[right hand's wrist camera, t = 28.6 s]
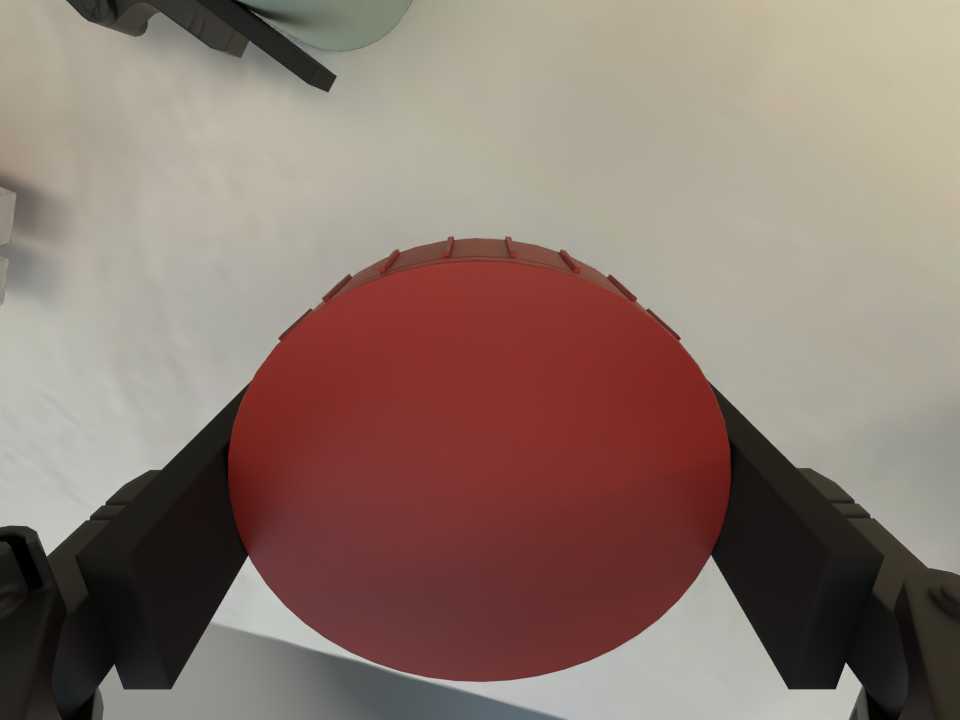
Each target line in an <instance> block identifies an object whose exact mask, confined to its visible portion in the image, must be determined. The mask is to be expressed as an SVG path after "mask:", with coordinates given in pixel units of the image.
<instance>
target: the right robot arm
mask: <svg viewBox="0 0 960 720" xmlns="http://www.w3.org/2000/svg"><path fill="white" fill-rule="evenodd" d="M706 380H707V379H706ZM707 381H708V380H707ZM708 382H709V381H708ZM250 383H251V382H250ZM250 383H249V384H248V385H247V386H246V387H245V388H244V389H243V390H242V391H241V392H240V393H239V394H238V395H237V396H236V397H235V398H234V399H233V400H232V401H231V402H230V403H229V404H228V405H227V406H226V407H225V408H224V409H223V410H222V411H221V412H220V413H219V414H218V415H217V416H216V417H215V418H214V419H213V420H212V421H211V422H210V423H209V424H208V425H206V426H205V427H204V428H203V429H202V430H201V431H200V432H199V433H198V434H197V435H196V436H195V437H194V438H193V439H192V440H191V441H190V442H189V443H188V444H187V445H186V446H185V447H184V448H183V449H182V450H181V451H180V452H179V453H178V454H177V455H176V456H175V457H174V458H173V459H172V460H171V461H170V462H169V463H168V464H167V465H166V466H165V467H164V468H163V469H162V470H149V471H148V472H146V473H144V474H142V475H141V476H139V477H137V478H135V479H134V480H132V481H130V482H128V483H127V484H125V485H124V486H123V487H121V488H120V489H119V490H118V491H117V492H116V493H115V494H114V495H113V496H112V497H111V498H110V499H109V500H107V501H106V505H105V506H101V507H100V508H99V509H98V510H97V511H96V512H95V513H93V514H92V515H91V516H90V520H86V521H85V522H84V523H83V524H82V525H81V526H80V527H78V528H77V529H76V530H75V531H74V532H73V533H72V534H71V535H70V536H69V537H68V538H67V539H66V540H64V541H63V542H62V543H61V544H60V545H59V546H58V547H57V548H56V549H55V550H54V551H53V552H52V553H50V554H49V555H48V556H47V557H46V554H45V552H44V549H43V547H42V544H41V541H40V539H39V536H38V534H37V532H36V531H34V530H33V529H31V528H29V527H27V526H6V527H0V720H102V717H103V708H104V706H103V701H102V696H101V693H100V690H99V688H98V686H99V685H100V683H101V682H102V681H103V679H104V678H105V676H106V675H107V674H108V672H109V671H110V669H111V668H112V667H113V665H114V664H115V667H116V669H117V672H118V674H119V677H120V680H121V683H122V685H123V688H124V689H171V688H172V687H173V685H174V683H175V681H176V680H177V678H178V676H179V674H180V673H181V671H182V669H183V668H184V666H185V664H186V662H187V661H188V659H189V657H190V655H191V654H192V652H193V650H194V649H195V647H196V645H197V643H198V642H199V640H200V638H201V636H202V635H203V633H204V631H205V629H206V628H207V626H208V624H209V623H210V621H211V619H212V617H213V616H214V614H215V612H216V610H217V609H218V607H219V605H220V604H221V602H222V600H223V598H224V597H225V595H226V593H227V591H228V590H229V588H230V586H231V584H232V583H233V581H234V579H235V578H236V576H237V574H238V572H239V571H240V569H241V567H242V565H243V564H244V562H245V560H246V558H247V557H248V553H247V551H246V549H245V547H244V545H243V543H242V541H241V539H240V536H239V533H238V529H237V526H236V522H235V518H234V514H233V510H232V505H231V500H230V495H229V489H228V452H229V446H230V440H231V434H232V428H233V425H234V422H235V419H236V416H237V413H238V410H239V407H240V404H241V401H242V399H243V397H244V395H245V393H246V391H247V389H248V387H249V385H250ZM709 385H710V387H711V388H712V390H713V392H714V394H715V397H716V399H717V402H718V405H719V407H720V410H721V413H722V415H723V418H724V421H725V425H726V430H727V435H728V440H729V445H730V453H731V487H730V495H729V500H728V505H727V510H726V514H725V519H724V523H723V526H722V530H721V533H720V535H719V537H718V540H717V542H716V544H715V546H714V549H713V551H712V553H711V556H712V557H713V559H714V561H715V563H716V564H717V566H718V568H719V569H720V571H721V573H722V575H723V576H724V578H725V580H726V582H727V583H728V585H729V587H730V588H731V590H732V592H733V594H734V595H735V597H736V599H737V601H738V602H739V604H740V606H741V608H742V609H743V611H744V613H745V614H746V616H747V618H748V620H749V621H750V623H751V625H752V627H753V628H754V630H755V632H756V634H757V635H758V637H759V639H760V640H761V642H762V644H763V646H764V647H765V649H766V651H767V653H768V654H769V656H770V658H771V660H772V661H773V663H774V665H775V666H776V668H777V670H778V672H779V673H780V675H781V677H782V679H783V680H784V682H785V684H786V686H787V687H788V689H836V687H837V684H838V682H839V679H840V676H841V673H842V671H843V668H844V665H845V663H847V664H848V666H849V667H850V668H851V670H852V671H853V673H854V674H855V675H856V677H857V678H858V680H859V681H860V682H861V684H862V688H861V690H860V693H859V695H858V698H857V700H856V703H855V705H854V708H853V711H852V713H851V716H850V718H849V720H960V575H957V574H954V573H952V572H947V571H942V570H937V569H932V568H930V569H928V568H927V567H926V566H925V565H924V564H923V563H922V562H921V561H920V560H919V559H918V558H916V557H915V556H914V555H913V554H912V553H911V552H910V551H909V550H908V549H907V548H906V547H905V546H903V545H902V544H901V543H900V542H899V541H898V540H897V539H896V538H895V537H894V536H893V535H892V534H890V533H889V532H888V531H887V530H886V529H885V528H884V527H883V526H882V525H881V524H880V523H879V522H877V521H876V520H875V519H874V518H870V514H869V513H868V512H867V511H866V510H864V509H863V508H862V507H861V506H860V505H859V504H855V502H854V499H853V498H851V497H850V496H849V495H848V494H847V493H846V492H845V491H844V490H843V489H842V488H841V487H840V486H838V485H837V484H836V483H835V482H833V481H831V480H830V479H828V478H826V477H824V476H823V475H821V474H819V473H817V472H816V471H814V470H812V469H810V468H796V467H794V466H793V465H792V464H791V463H790V462H789V461H788V460H787V459H786V458H785V457H784V456H783V455H782V454H781V453H780V452H779V451H778V450H777V449H776V448H775V447H774V446H773V445H772V444H771V443H770V442H769V441H768V440H767V439H766V438H765V437H764V436H763V435H762V434H761V433H760V432H759V431H758V430H757V429H756V428H755V427H754V426H753V425H752V424H751V423H750V422H749V421H748V420H747V419H746V418H745V417H744V416H743V415H742V414H741V413H740V412H739V411H738V410H737V409H736V408H735V407H734V406H733V405H732V404H731V403H730V402H729V401H728V400H727V399H726V398H725V397H724V396H723V395H722V394H721V393H720V392H719V391H718V390H717V389H716V388H715V387H714V386H713V385H712V384H711V383H710V382H709Z"/></svg>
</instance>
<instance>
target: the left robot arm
mask: <svg viewBox="0 0 960 720" xmlns="http://www.w3.org/2000/svg"><path fill="white" fill-rule="evenodd" d="M67 1H68V2H69V3H70V4H71V5H72V6H73V7H74V8H75V9H76V10H77V11H78V12H79V13H80V14H81V16H83V17H84V18H85V19H87V20H88V21H90V22H93V23H96V24H99V25H101V26H104V27H107V28H110V29H113V30H116V31H119V32H122V33H125V34H128V35H131V36H135V37H137V36H141V35H143V34H144V33H145V31H146V29H147V20H148V19H149V18H150V17H151V16H153V15H154V14H155V13H158V12H162V13H163V14H165V15H166V16H167V17H169V18H170V19H172V20H173V21H174V22H176V23H177V24H178V25H180V26H181V27H183V28H184V29H185V30H187V31H188V32H189V33H191V34H192V35H194V36H195V37H197V38H198V39H199V40H200V41H202V42H203V43H205V44H206V45H207V46H209V47H210V48H212V49H215V50H217V51H220V52H222V53H225V54H227V55H231V56H234V57H238V58H241V56H242V54H243V52H244V50H245V48H246V46H247V44H248V42H249V40H250V41H251V42H252V43H254V44H255V45H256V46H258V47H259V48H261V49H262V50H263V51H265V52H266V53H267V54H269V55H270V56H271V57H273V58H274V59H275V60H277V61H278V62H279V63H281V64H282V65H283V66H285V67H286V68H287V69H289V70H290V71H291V72H293V73H294V74H296V75H297V76H298V77H300V78H301V79H302V80H304V81H305V82H306V83H308V84H309V85H312V86H314V87H317V88H319V89H322V90H324V91H326V92H329V90H330V88H331V86H332V84H333V82H334V81H335V79H336V77H337V76H336V75H334V74H333V73H332V72H330V71H329V70H328V69H326V68H325V67H324V66H323V65H321V64H320V63H319V62H317V61H316V60H315V59H313V58H312V57H311V56H309V55H308V54H307V53H305V52H304V51H303V50H301V49H300V48H299V47H297V46H296V45H295V44H293V43H292V42H291V41H289V40H288V39H287V38H286V37H284V36H283V35H282V34H280V33H279V32H278V31H276V30H275V29H274V28H272V27H271V26H270V25H268V24H267V23H266V22H264V21H263V20H262V19H260V18H259V17H258V16H256V15H255V14H254V13H252V12H251V11H250V10H248V9H247V8H246V7H244V6H243V5H241V4H239V3H238V2H236V1H235V0H67Z"/></svg>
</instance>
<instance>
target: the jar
mask: <svg viewBox="0 0 960 720" xmlns="http://www.w3.org/2000/svg"><path fill="white" fill-rule="evenodd" d="M235 1H236V2H238V3H239V4H241V5H243V6H244V7H246V8H247V9H249V10H251V11H252V12H254V13H255V14H257V15H259V16H260V17H262V18H263V19H265V20H267V21H268V22H270V23H271V24H273V25H275V26H276V27H278V28H279V29H281V30H283V31H284V32H286V33H287V34H289V35H290V36H292V37H294V38H296V39H297V40H299V41H301V42H303V43H305V44H308V45H310V46H313V47H315V48H320V49H324V50H331V51H347V50H354V49H358V48H362V47H364V46H367V45H369V44H372V43H373V42H375V41H377V40H378V39H380V38H382V37H383V36H384V35H386V34H387V33H388V32H389V31H390V30H391V29H392V28H393V27H394V26H395V25H396V24H397V23H398V22H399V21H400V19H401V18H402V16H403V15H404V14H405V12H406V11H407V9H408V7H409V5H410V3H411V1H412V0H235Z"/></svg>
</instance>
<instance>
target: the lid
mask: <svg viewBox="0 0 960 720" xmlns="http://www.w3.org/2000/svg"><path fill="white" fill-rule="evenodd" d="M322 299H323V301H322V302H321V303H320V304H319V305H318V306H317V307H316V308H315V309H314V310H312V309H311V308H310V309H309V310H308V311H307V312H306V313H305V314H304V315H303V316H301V317H300V318H299V319H298V320H297V321H296V322H295V323H294V324H293V325H292V326H290V327H289V328H288V329H287V330H286V331H285V332H284V333H283V334H282V335H281V336H280V337H279V338H278V339H279V340H281V342H279V343H278V344H277V345H276V347H275V348H274V349H273V351H272V352H271V353H270V355H269V356H268V357H267V359H266V360H265V361H264V363H263V364H262V365H261V367H260V368H259V369H258V371H257V372H256V374H255V376H254V378H253V380H252V381H251V383H250V385H249V387H248V389H247V391H246V393H245V395H244V397H243V399H242V401H241V404H240V407H239V410H238V413H237V416H236V419H235V422H234V425H233V428H232V434H231V440H230V446H229V452H228V489H229V495H230V500H231V505H232V510H233V514H234V518H235V522H236V526H237V529H238V533H239V536H240V539H241V541H242V543H243V545H244V547H245V549H246V551H247V553H248V555H249V557H250V559H251V561H252V563H253V565H254V566H255V568H256V569H257V571H258V572H259V574H260V575H261V577H262V578H263V580H264V581H265V583H266V584H267V585H268V587H269V588H270V589H271V590H272V591H273V592H274V593H275V595H276V596H277V597H278V598H279V599H280V600H281V602H282V603H283V604H284V605H285V606H286V607H287V608H288V609H290V610H291V611H292V612H293V613H294V614H295V615H296V616H297V617H298V618H299V619H301V620H302V621H303V622H304V623H305V624H307V625H308V626H309V627H311V628H312V629H314V630H315V631H316V632H318V633H319V634H321V635H322V636H323V637H325V638H326V639H328V640H330V641H331V642H333V643H335V644H337V645H338V646H340V647H342V648H344V649H345V650H347V651H349V652H351V653H353V654H356V655H358V656H360V657H362V658H365V659H367V660H369V661H372V662H374V663H377V664H380V665H383V666H386V667H389V668H392V669H395V670H398V671H401V672H406V673H410V674H415V675H419V676H424V677H429V678H437V679H444V680H452V681H474V682H488V681H506V680H515V679H522V678H528V677H535V676H540V675H544V674H548V673H552V672H556V671H560V670H564V669H567V668H570V667H573V666H576V665H578V664H581V663H584V662H587V661H590V660H592V659H594V658H596V657H598V656H601V655H603V654H605V653H607V652H609V651H611V650H613V649H615V648H617V647H619V646H620V645H622V644H624V643H625V642H627V641H629V640H630V639H632V638H634V637H635V636H637V635H638V634H640V633H641V632H642V631H644V630H645V629H646V628H648V627H649V626H650V625H652V624H653V623H654V622H656V621H657V620H658V619H660V618H661V617H662V616H663V615H664V614H665V613H666V612H667V611H668V610H669V609H670V608H671V607H672V606H673V605H674V604H675V603H676V602H677V601H678V600H679V599H680V598H681V597H682V596H683V594H684V593H685V592H686V591H687V589H688V588H689V587H690V586H691V585H692V583H693V582H694V581H695V580H696V578H697V577H698V575H699V573H700V572H701V570H702V569H703V567H704V565H705V564H706V562H707V560H708V559H709V557H710V555H711V553H712V551H713V549H714V546H715V544H716V542H717V540H718V537H719V535H720V533H721V530H722V526H723V523H724V519H725V514H726V510H727V505H728V500H729V495H730V487H731V453H730V445H729V440H728V435H727V430H726V425H725V421H724V418H723V415H722V413H721V410H720V407H719V405H718V402H717V399H716V397H715V394H714V392H713V390H712V388H711V387H710V385H709V382H708V381H707V380H706V378H705V376H704V374H703V373H702V371H701V369H700V368H699V366H698V364H697V363H696V362H695V361H694V360H693V358H692V357H691V356H690V355H689V353H688V352H687V351H686V350H685V348H684V347H683V346H682V345H681V343H680V342H679V340H680V339H681V338H680V337H679V336H678V335H677V334H676V333H675V332H674V331H673V330H672V329H671V328H670V327H669V326H667V325H666V324H665V323H664V322H663V321H662V320H661V319H660V318H659V317H658V316H656V315H655V314H654V313H653V312H652V311H651V310H650V309H649V308H648V309H647V310H645V309H644V308H643V307H642V306H641V305H640V304H639V303H638V302H636V300H637V298H636V297H635V296H634V295H633V294H632V293H631V292H630V291H629V290H628V289H627V288H625V287H624V286H623V285H622V284H621V283H620V282H619V281H618V280H617V279H615V278H614V277H613V276H612V275H610V274H609V276H608V277H606V276H604V275H603V274H601V273H600V272H599V271H597V270H596V269H594V268H592V267H590V266H588V265H586V264H584V263H582V262H580V261H578V260H576V259H574V258H572V257H570V255H569V254H568V253H567V252H566V251H564V250H562V249H561V250H560V253H559V252H556V251H553V250H550V249H547V248H544V247H541V246H537V245H532V244H526V243H521V242H516V241H512V239H511V237H506V239H505V240H499V239H480V238H474V239H462V240H454V237H448V240H447V241H442V242H437V243H433V244H428V245H424V246H419V247H414V248H412V249H409V250H406V251H403V252H401V253H400V252H399V250H398V249H397V250H395V251H393V252H392V254H391V255H390V256H389V257H387V258H385V259H383V260H381V261H379V262H377V263H375V264H373V265H371V266H370V267H368V268H366V269H364V270H362V271H360V272H358V273H357V274H356V275H354V276H353V277H351V275H350V274H349V275H347V276H346V277H345V278H344V279H342V280H341V281H340V282H339V283H338V284H337V285H336V286H335V287H334V288H333V289H332V290H330V291H329V292H328V293H327V294H326V295H325V296H324V297H323V298H322Z"/></svg>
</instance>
